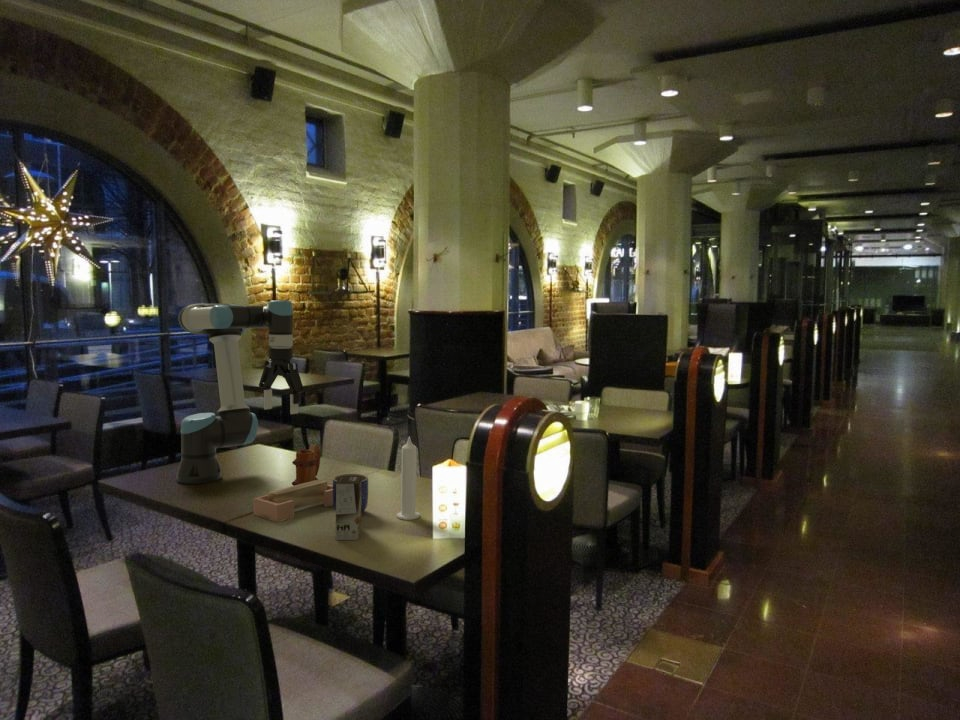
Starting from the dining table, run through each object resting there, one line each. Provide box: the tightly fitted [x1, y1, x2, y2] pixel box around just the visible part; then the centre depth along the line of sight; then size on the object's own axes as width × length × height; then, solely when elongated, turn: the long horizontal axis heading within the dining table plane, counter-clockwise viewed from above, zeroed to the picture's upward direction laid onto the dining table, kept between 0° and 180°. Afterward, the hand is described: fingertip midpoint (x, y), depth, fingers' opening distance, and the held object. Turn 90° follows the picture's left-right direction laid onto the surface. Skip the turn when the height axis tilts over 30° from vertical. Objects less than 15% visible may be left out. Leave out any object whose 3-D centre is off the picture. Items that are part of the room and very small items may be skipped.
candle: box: [396, 436, 421, 521], centre depth 213 cm, size 7×7×25 cm
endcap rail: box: [252, 483, 334, 523], centre depth 220 cm, size 11×25×5 cm, turn 144°
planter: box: [332, 473, 369, 515], centre depth 216 cm, size 11×11×11 cm
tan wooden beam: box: [267, 478, 328, 509], centre depth 220 cm, size 4×20×6 cm, turn 144°
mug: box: [291, 444, 321, 486], centre depth 241 cm, size 15×8×15 cm, turn 168°
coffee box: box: [335, 475, 362, 541], centre depth 196 cm, size 9×6×16 cm
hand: (280, 411), depth 231 cm, fingers open, 13 cm apart
